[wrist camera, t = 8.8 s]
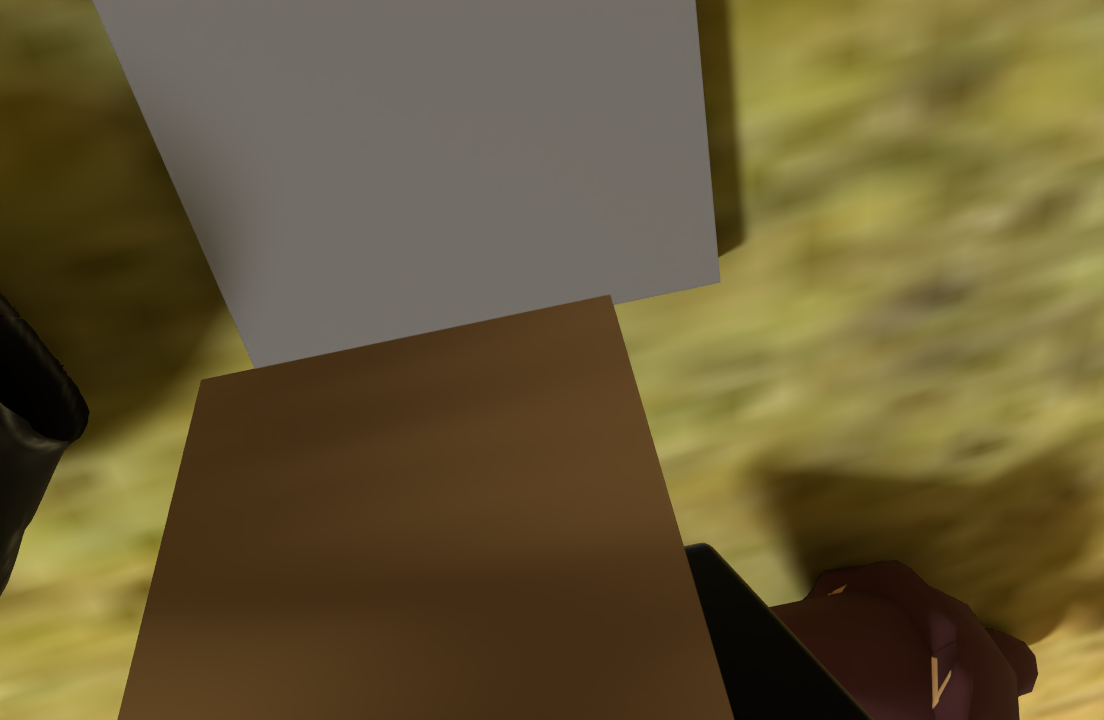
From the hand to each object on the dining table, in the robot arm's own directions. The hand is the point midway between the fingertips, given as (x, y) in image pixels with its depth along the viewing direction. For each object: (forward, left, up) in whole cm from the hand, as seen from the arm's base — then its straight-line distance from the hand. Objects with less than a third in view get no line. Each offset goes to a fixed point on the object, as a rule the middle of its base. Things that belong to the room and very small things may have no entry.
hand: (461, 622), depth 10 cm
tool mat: (0, 0, -13) cm, 13 cm away
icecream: (+8, -17, -13) cm, 23 cm away
